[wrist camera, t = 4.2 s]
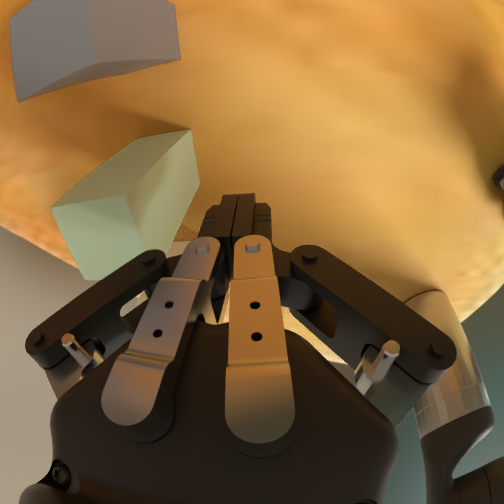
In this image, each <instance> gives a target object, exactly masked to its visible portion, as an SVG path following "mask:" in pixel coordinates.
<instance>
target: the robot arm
mask: <svg viewBox="0 0 504 504" xmlns="http://www.w3.org/2000/svg"><path fill="white" fill-rule="evenodd" d="M230 282H231V283H230ZM229 283H230V310H229V322H228V323H223V319H224V315H225V311H226V307H227V303H228V299H229V291H228V289H229ZM143 291H144V292H145V294H146V296H147V298H148V299H147V300H145V301H144V302H142V303H141V304H140V305H138V306H137V307H136V308H134V309H133V310H132V311H130V312H129V313H128V314H126V315H125V316H123V317H121V316H120V310H121V308H122V306H123V305H125V304H126V303H127V302H128V301H130V300H131V299H133V298H134V297H136V296H137V295H138V294H140V293H141V292H143ZM281 306H284V307H288V308H289V310H290V312H291V314H292V315H293V316H294V317H295V318H296V319H297V320H298V321H300V322H301V323H302V324H303V325H304V326H305V327H306V328H307V329H309V330H310V331H311V332H312V333H313V334H314V335H315V336H316V337H318V338H319V339H320V340H321V341H322V342H323V343H324V344H325V345H327V346H328V347H329V348H330V349H331V350H332V351H333V352H335V353H336V354H337V355H338V356H339V357H340V358H341V359H343V360H344V361H345V362H346V363H347V364H348V365H349V366H351V367H352V368H353V369H354V370H355V374H354V382H355V385H356V387H357V388H358V389H359V390H357V389H356V388H355V387H354V386H353V385H352V384H351V383H350V382H349V381H348V380H347V379H346V378H345V377H344V376H343V375H342V374H341V373H340V372H339V371H338V370H337V369H336V368H334V366H332V364H330V363H329V361H327V360H326V359H325V358H324V357H323V356H322V355H321V354H320V353H319V352H318V351H317V350H316V349H315V348H314V347H313V346H312V345H311V344H310V343H309V342H308V341H307V340H305V339H304V338H303V337H301V336H300V335H298V334H296V333H294V332H292V331H289V330H287V329H284V324H283V317H282V309H281ZM25 348H26V351H27V353H28V354H29V355H30V356H31V357H32V358H33V359H34V360H35V361H36V362H37V363H38V364H39V366H40V367H41V368H42V369H43V370H44V371H45V372H46V375H47V377H48V380H49V382H50V384H51V386H52V389H53V391H54V393H55V395H56V397H57V399H58V401H57V402H56V404H55V406H54V408H53V410H52V414H51V419H50V428H51V436H52V445H53V460H52V465H51V468H50V470H49V472H48V474H47V475H46V476H45V477H44V478H43V479H42V480H40V481H39V482H37V483H36V484H33V485H31V486H29V487H27V488H26V489H25V490H24V491H23V492H22V494H21V496H20V500H19V504H382V501H383V496H384V492H385V489H386V485H387V482H388V480H389V477H390V474H391V472H392V470H393V468H394V466H395V464H396V461H397V457H398V452H399V441H398V436H397V433H396V430H395V428H396V427H397V426H398V425H399V424H400V423H401V422H402V420H403V419H404V418H405V417H406V416H407V414H408V413H409V412H410V411H411V410H412V408H413V407H414V411H415V416H416V420H417V425H418V431H419V436H420V439H421V440H420V442H421V448H422V453H423V458H424V465H425V473H426V489H427V503H426V504H504V457H500V458H498V459H496V460H494V461H492V462H490V463H488V464H486V465H484V466H482V467H480V468H478V469H476V470H473V471H472V472H469V473H467V474H465V475H463V476H460V477H458V478H455V479H453V478H452V473H453V471H454V468H455V467H456V465H457V464H458V463H459V462H460V460H461V459H462V458H463V457H464V456H465V455H466V454H467V452H468V451H469V450H470V449H472V447H474V446H475V444H477V443H478V442H479V441H480V440H481V439H482V438H484V437H485V436H486V435H487V434H488V433H489V432H490V431H491V430H492V428H493V426H494V415H493V412H492V408H491V405H490V401H489V398H488V395H487V392H486V388H485V385H484V383H483V380H482V377H481V374H480V371H479V368H478V365H477V363H476V360H475V358H474V355H473V352H472V350H471V347H470V345H469V343H468V340H467V338H466V335H465V333H464V331H463V329H462V326H461V324H460V322H459V320H458V317H457V315H456V313H455V311H454V309H453V307H452V305H451V303H450V301H449V299H448V297H447V296H446V294H445V293H443V292H440V291H429V292H425V293H422V294H419V295H417V296H415V297H413V298H412V299H410V300H409V301H407V302H406V303H405V304H404V303H402V302H401V301H400V300H398V299H397V298H395V297H394V296H392V295H391V294H390V293H388V292H387V291H385V290H384V289H382V288H381V287H380V286H378V285H377V284H375V283H374V282H372V281H371V280H369V279H368V278H366V277H365V276H363V275H362V274H360V273H359V272H357V271H356V270H355V269H353V268H352V267H350V266H349V265H347V264H346V263H344V262H342V261H341V260H339V259H338V258H336V257H335V256H333V255H332V254H330V253H329V252H327V251H326V250H324V249H323V248H321V247H318V246H315V245H302V246H299V247H297V248H295V249H294V250H293V251H292V252H291V253H289V252H284V251H281V250H279V249H277V248H276V247H275V246H274V245H273V244H272V229H271V208H270V207H269V206H268V205H267V203H256V199H255V193H251V194H232V195H223V197H222V200H221V204H220V205H214V206H212V207H211V208H210V209H208V210H207V211H206V214H205V217H204V220H203V224H202V226H201V228H200V231H199V234H198V237H197V239H194V240H192V241H191V242H189V243H188V244H187V246H186V248H185V250H184V252H183V254H180V255H177V256H173V257H169V258H166V255H165V253H164V252H163V251H162V250H158V249H152V250H147V251H145V252H143V253H141V254H139V255H138V256H136V257H135V258H133V259H132V260H130V261H129V262H127V263H126V264H124V265H123V266H121V267H120V268H118V269H117V270H115V271H114V272H112V273H111V274H109V275H108V276H106V277H105V278H103V279H102V280H100V281H99V282H97V283H96V284H95V285H93V286H92V287H90V288H89V289H87V290H86V291H85V292H83V293H82V294H80V295H79V296H78V297H76V298H75V299H73V300H72V301H71V302H69V303H68V304H67V305H65V306H64V307H62V308H61V309H60V310H58V311H57V312H56V313H54V314H53V315H52V316H50V317H49V318H48V319H46V320H45V321H44V322H42V323H41V324H40V325H39V326H37V327H36V328H35V329H33V330H32V331H31V333H30V334H29V335H28V337H27V339H26V343H25Z"/></svg>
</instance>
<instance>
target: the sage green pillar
mask: <svg viewBox="0 0 504 504" xmlns="http://www.w3.org/2000/svg"><path fill="white" fill-rule="evenodd" d="M199 186H200V179H199V173H198V167H197V161H196V156H195V150H194V144H193V138H192V131H191V129H189V130H182V131H175V132H169V133H163V134H158V135H152V136H147V137H142V138H137V139H135V140H134V141H132V142H131V143H129V144H128V145H127V146H125V147H124V148H122V149H121V150H120V151H118V152H117V153H115V154H114V155H113V156H111V157H110V158H109V159H107V160H106V161H105V162H104V163H102V164H101V165H100V166H98V167H97V168H96V169H95V170H93V171H92V172H91V173H90V174H88V175H87V176H86V177H85V178H84V179H82V180H81V181H80V182H79V183H78V184H76V185H75V186H74V187H73V188H72V189H71V190H70V191H68V192H67V193H66V194H65V195H64V196H63V197H62V198H61V199H60V200H58V201H57V202H56V203H55V204H54V205H53V206H52V207H51V208H50V209H51V211H52V213H53V216H54V218H55V220H56V223H57V225H58V227H59V229H60V232H61V234H62V236H63V238H64V240H65V242H66V244H67V247H68V249H69V251H70V253H71V255H72V257H73V259H74V260H75V262H76V264H77V266H78V268H79V270H80V272H81V274H82V276H83V277H84V279H85V280H102V279H103V278H105V277H106V276H108V275H109V274H111V273H112V272H114V271H115V270H117V269H118V268H120V267H121V266H123V265H124V264H126V263H127V262H129V261H130V260H132V259H133V258H135V257H136V256H138V255H139V254H141V253H143V252H145V251H147V250H152V249H158V250H162V251H163V252H164V253H165V255H166V256H167V253H168V251H169V249H170V247H171V244H172V242H173V240H174V238H175V236H176V233H177V231H178V229H179V227H180V225H181V223H182V221H183V218H184V216H185V214H186V212H187V210H188V208H189V206H190V204H191V202H192V200H193V198H194V196H195V194H196V192H197V190H198V188H199Z"/></svg>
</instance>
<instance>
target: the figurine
mask: <svg viewBox="0 0 504 504" xmlns="http://www.w3.org/2000/svg"><path fill="white" fill-rule="evenodd" d="M492 179H493V181H494V184H495V186H496V187H498V188H499V189H503V190H504V167H503V168H499V169H498V173H494V177H493V178H492Z"/></svg>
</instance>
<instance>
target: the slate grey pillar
mask: <svg viewBox="0 0 504 504" xmlns="http://www.w3.org/2000/svg"><path fill="white" fill-rule="evenodd" d="M10 46H11V58H12V68H13V76H14V83H15V89H16V95H17V101H18V103H19V102H22V101H25V100H27V99H30V98H33V97H36V96H39V95H41V94H44V93H48V92H51V91H54V90H57V89H61V88H64V87H68V86H71V85H75V84H79V83H83V82H87V81H92V80H96V79H101V78H106V77H111V76H117V75H122V74H126V73H130V72H133V71H136V70H140V69H143V68H147V67H151V66H155V65H159V64H163V63H167V62H172V61H177V60H181V57H180V49H179V40H178V31H177V22H176V13H175V5H173V4H172V3H170V2H168V1H166V0H34V1H32V2H31V3H29V4H28V5H27V6H25V7H24V8H23V9H22V10H20V11H19V12H18V13H17V14H15V15H14V16H13V17H12V18H11V19H10Z"/></svg>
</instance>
